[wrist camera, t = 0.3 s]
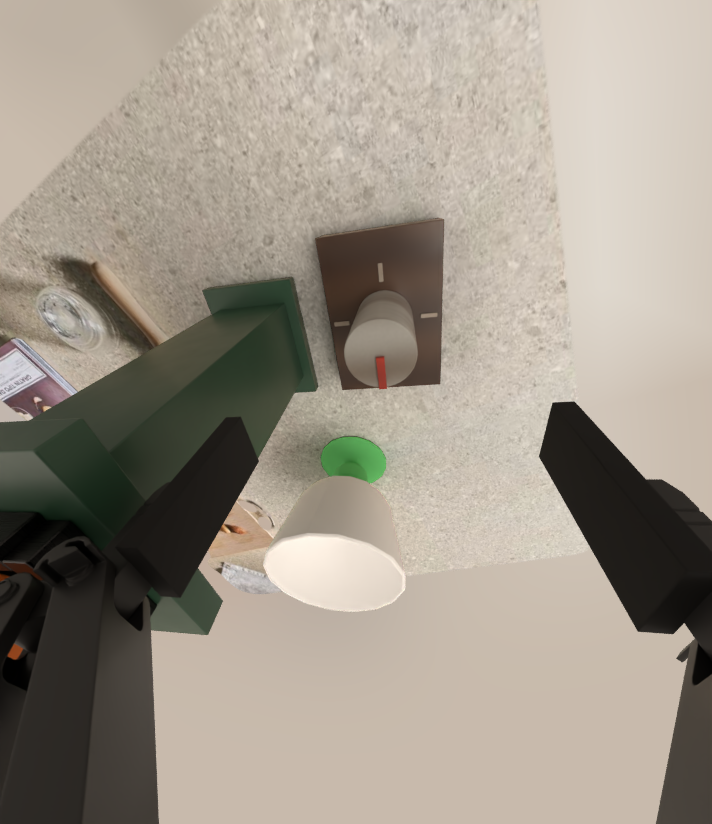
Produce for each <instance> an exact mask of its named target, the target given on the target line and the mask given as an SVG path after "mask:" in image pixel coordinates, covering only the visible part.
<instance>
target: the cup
mask: <svg viewBox="0 0 712 824" xmlns="http://www.w3.org/2000/svg"><path fill="white" fill-rule="evenodd" d="M321 462H322V467H323V468H324V470H325V471H326V472H327V474H328V475H329V476H331V477H328V478H324V479H321V480H318V481H317V482H315V483H313V484H312V485H311V486H310V487H309V488H307V489H306V490H305V491H304V492H303V493H302V494H301V496H300V498H299V499H298V501H297V502H296V504H295V506H294V507H293V509H292V510H291V512H290V514H289V515H288V517H287V518H286V520H285V521H284V523H283V525H282V526H281V528H280V529H279V531H278V533H277V534H276V536H275V537H274V539H273V541H272V542H271V544H270V545H269V547H268V549H267V550H266V554H265V558H264V562H263V566H264V568H265V570H266V573H267V575H268V577H269V579H270V581H271V582H272V583H274V584H275V585H276V586H277V587H278V588H279V589H281V590H282V591H283V592H284V593H285V594H287V595H290V596H292V597H294V598H296V599H298V600H300V601H302V602H304V603H306V604H310V605H314V606H317V607H321V608H325V609H328V610H339V611H350V612H356V611H365V610H374V609H378V608H380V607H383V606H385V605H388V604H390V603H393V602H394V601H395V600H396V599H397V598H398V597H399V596H400V595H401V593H402V592H403V591H404V590H405V570H404V565H403V561H402V556H401V552H400V547H399V543H398V538H397V534H396V529H395V525H394V520H393V516H392V511H391V507H390V505H389V504H388V502H387V501H386V499H385V497H384V496H383V494H382V493H381V492H380V491H379V490H378V489H377V488H375V487H374V486H372V485H371V484H370V483H373V482H374V481H376V480H377V479H379V478H380V477H381V476H382V475H383V473H384V471H385V469H386V458H385V456H384V454H383V453H382V451H381V449H380V448H379V447H377V446H376V445H375V444H373V443H372V442H371V441H369V440H365V439H362V438H359V437H341V438H338V439H335V440H332V441H331V442H330V443H329V444H328V445H327V446H325V447H324V449H323V452H322V455H321Z"/></svg>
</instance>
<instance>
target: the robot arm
mask: <svg viewBox="0 0 712 824" xmlns="http://www.w3.org/2000/svg"><path fill="white" fill-rule="evenodd" d="M539 457H540V459H541V461H542V463H543V464H544V466H545V468H546V470H547V471H548V473H549V475H550V477H551V479H552V480H553V482H554V484H555V486H556V487H557V489H558V491H559V493H560V494H561V496H562V498H563V500H564V502H565V503H566V505H567V507H568V509H569V510H570V512H571V514H572V516H573V517H574V519H575V521H576V523H577V525H578V526H579V528H580V530H581V532H582V533H583V535H584V537H585V539H586V541H587V542H588V544H589V546H590V548H591V549H592V551H593V553H594V555H595V556H596V558H597V560H598V562H599V563H600V565H601V567H602V569H603V570H604V572H605V574H606V576H607V578H608V579H609V581H610V583H611V585H612V586H613V588H614V590H615V592H616V593H617V595H618V597H619V599H620V601H621V602H622V604H623V606H624V608H625V610H626V611H627V613H628V615H629V617H630V618H631V620H632V622H633V624H634V625H635V627H636V629H637V631H638V632H652V633H664V634H674V633H675V632H676V631H677V630H678V629H679V627H681V626H682V625H683V623H685V624H686V626H687V627H688V629H689V630H690V632H691V633H692V634H693V636H694V637H695V639H694V640H693V641H692V642H691V643H690V644H689V645H688V646H687V647H686V648H685V649H683V650H682V651H681V652H680V654H679V655H678V657H677V659H678V660H680V661H681V662H683V661H685V660H686V659H687V658H688V660H687V665H686V670H685V675H684V681H683V686H682V691H681V697H680V702H679V707H678V712H677V717H676V722H675V728H674V733H673V738H672V743H671V748H670V753H669V759H668V764H667V769H666V775H665V780H664V785H663V790H662V795H661V800H660V806H659V811H658V816H657V821H656V824H712V521H711V520H710V519H709V518H708V517H707V516H706V515H705V514H704V513H703V512H700V511H699V508H698V507H697V506H696V505H695V504H694V503H693V502H692V501H691V500H690V499H689V498H688V497H687V496H686V495H685V494H684V493H683V492H681V491H679V490H678V489H676V488H675V487H673V486H671V485H670V484H668V483H667V482H665V481H663V480H646V479H645V478H644V477H643V476H642V475H641V474H640V472H638V471H637V469H636V468H635V467H634V466H633V465H632V464H631V463H630V462H629V460H628V459H627V458H626V457H625V456H624V455H623V454H622V453H621V452H620V451H619V450H618V449H617V447H616V446H615V445H614V444H613V443H612V442H611V441H610V440H609V439H608V438H607V436H606V435H605V434H604V433H603V432H602V431H601V430H600V429H599V428H598V427H597V426H596V425H595V423H594V422H593V421H592V420H591V419H590V418H589V417H588V416H587V415H586V414H585V412H584V411H583V410H582V409H581V408H580V407H579V406H578V405H577V404H576V403H575V402H555V403H552V407H551V411H550V415H549V419H548V423H547V427H546V431H545V435H544V439H543V443H542V447H541V451H540V455H539ZM258 462H259V460H258V457H257V455H256V453H255V450H254V448H253V445H252V443H251V440H250V438H249V435H248V433H247V430H246V428H245V425H244V423H243V421H242V418H241V417H226V418H225V419H224V420H223V421H222V422H221V424H220V425H219V426H218V427H217V428H216V429H215V431H214V432H213V433H212V434H211V435H210V436H209V438H208V439H207V440H206V441H205V442H204V443H203V445H202V446H201V447H200V448H199V449H198V450H197V452H196V453H195V454H194V455H193V456H192V457H191V459H190V460H189V461H188V462H187V463H186V464H185V466H184V467H183V468H182V469H181V470H180V471H179V473H178V474H177V475H176V476H175V477H174V478H173V480H172V481H171V482H167V483H165V484H164V485H163V486H161V487H160V488H159V489H157V490H156V491H155V492H154V493H153V494H152V495H151V496H150V497H149V498H148V499H147V501H146V502H145V503H144V506H141V507H140V508H139V510H138V511H137V512H136V515H133V516H132V517H131V519H130V520H129V521H128V522H127V523H126V524H125V525H124V527H123V528H122V529H121V530H120V531H119V532H118V533H117V534H116V536H115V537H114V538H113V539H112V540H111V541H110V542H109V543H108V545H107V546H106V547H105V548H104V549H103V550H102V551H101V550H100V549H99V548H98V547H97V546H96V545H95V544H94V543H93V542H92V541H91V540H90V539H89V538H87V537H85V536H80V537H74V538H72V539H69V540H66V541H64V542H62V543H61V544H59V545H57V546H55V547H54V548H53V549H51V550H50V551H49V552H48V553H46V554H45V555H44V556H43V557H42V558H41V559H40V560H39V562H38V563H37V564H36V566H35V568H34V570H33V572H34V573H36V574H37V575H38V576H39V577H41V578H42V579H43V580H38V579H37V578H36V577H34V576H33V575H32V574H31V573H27V572H22V573H18V574H15V575H12V576H10V577H8V578H6V579H4V580H2V581H0V824H159V818H158V794H157V769H156V745H155V720H154V696H153V671H152V648H151V623H150V603H149V600H148V598H147V597H146V595H147V593H148V592H149V590H150V589H151V587H152V588H153V589H154V590H155V591H156V592H157V593H158V594H159V595H160V596H163V597H176V598H181V596H182V595H183V593H184V591H185V589H186V588H187V586H188V584H189V582H190V581H191V579H192V577H193V575H194V574H195V572H196V570H197V568H198V567H199V565H200V563H201V561H202V560H203V558H204V556H205V554H206V553H207V551H208V549H209V547H210V546H211V544H212V542H213V540H214V539H215V537H216V535H217V533H218V532H219V530H220V528H221V526H222V525H223V523H224V521H225V519H226V518H227V516H228V514H229V512H230V511H231V509H232V507H233V505H234V504H235V502H236V500H237V499H238V497H239V495H240V493H241V492H242V490H243V488H244V486H245V485H246V483H247V481H248V479H249V478H250V476H251V474H252V472H253V471H254V469H255V467H256V465H257V464H258ZM14 644H16V645H18V646H19V647H21V648H23V650H22V652H21V654H20V655H19V657H18V658H17V659H16V660H15V659H12V658H10V657H8V654H9V652H10V650H11V648H12V647H13V645H14Z"/></svg>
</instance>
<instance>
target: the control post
mask: <svg viewBox="0 0 712 824" xmlns="http://www.w3.org/2000/svg"><path fill="white" fill-rule="evenodd" d="M203 294H204V296H205V299H206V301H207V304H208V306H209V309H210V311H211V314H212V315H210V316H209V317H207V318H205V319H203V320H202V321H200V322H198V323H197V324H195V325H193V326H191V327H190V328H188V329H186V330H184V331H183V332H181V333H179V334H178V335H176V336H174V337H172V338H171V339H169V340H167V341H165V342H164V343H162V344H160V345H159V346H157V347H155V348H153V349H152V350H150V351H148V352H147V353H145V354H143V355H141V356H140V357H138V358H136V359H134V360H133V361H131V362H129V363H128V364H126V365H124V366H122V367H121V368H119V369H117V370H115V371H114V372H112V373H110V374H109V375H107V376H105V377H103V378H102V379H100V380H98V381H97V382H95V383H93V384H91V385H90V386H88V387H86V388H84V389H83V390H81V391H79V392H78V393H76V394H74V395H72V396H71V397H69V398H67V399H65V400H64V401H62V402H60V403H59V404H57V405H55V406H53V407H52V408H50V409H48V410H46V411H45V412H43V413H41V414H40V415H38V416H36V417H34V418H33V419H31V420H29V421H17V422H0V573H1V574H5V575H8V576H12V575H15V574H18V573H22V572H27V573H31V574H32V575H33V576H34V577H36V578H37V579H38V580H43V579H42V578H41V577H39V576H38V575H37V574H36V573H34V572H33V570H34V568H35V566H36V564H37V563H38V562H39V560H40V559H41V558H42V557H43V556H44V555H45V554H46V553H48V552H49V551H50V550H51V549H53V548H54V547H55V546H57V545H59V544H61V543H62V542H64V541H66V540H69V539H72V538H74V537H80V536H85V537H87V538H89V539H90V540H91V541H92V542H93V543H94V544H95V545H96V546H97V547H98V548H99V549H100V550H101V551H102V550H103V549H104V548H105V547H106V546H107V545H108V543H109V542H110V541H111V540H112V539H113V538H114V537H115V536H116V534H117V533H118V532H119V531H120V530H121V529H122V528H123V527H124V525H125V524H126V523H127V522H128V521H129V520H130V519H131V517H132V516H133V515H136V512H137V511H138V510H139V508H140V507H141V506H144V503H145V502H146V501H147V499H148V498H149V497H150V496H151V495H152V494H153V493H154V492H155V491H156V490H157V489H159V488H160V487H161V486H163V485H164V484H165V483H167V482H171V481H172V480H173V478H174V477H175V476H176V475H177V474H178V473H179V471H180V470H181V469H182V468H183V467H184V466H185V464H186V463H187V462H188V461H189V460H190V459H191V457H192V456H193V455H194V454H195V453H196V452H197V450H198V449H199V448H200V447H201V446H202V445H203V443H204V442H205V441H206V440H207V439H208V438H209V436H210V435H211V434H212V433H213V432H214V431H215V429H216V428H217V427H218V426H219V425H220V424H221V422H222V421H223V420H224V419H225V418H226V417H241V418H242V421H243V423H244V425H245V428H246V430H247V433H248V435H249V438H250V440H251V443H252V445H253V448H254V450H255V453H256V455H257V457H259V456H260V454H261V452H262V450H263V448H264V447H265V445H266V443H267V441H268V439H269V438H270V436H271V434H272V432H273V430H274V429H275V427H276V425H277V423H278V421H279V420H280V418H281V416H282V414H283V412H284V411H285V409H286V407H287V405H288V403H289V402H290V400H291V398H292V396H293V394H294V393H298V392H314V391H316V390H317V388H318V384H317V379H316V375H315V371H314V366H313V362H312V358H311V353H310V349H309V344H308V340H307V336H306V331H305V327H304V323H303V318H302V314H301V310H300V305H299V301H298V297H297V292H296V288H295V284H294V279H293V277H288V278H281V279H273V280H265V281H257V282H249V283H242V284H234V285H226V286H218V287H210V288H207V289H204V290H203ZM146 597H147V598H148V600H149V603H150V623H151V630H154V631H166V632H178V633H190V634H201V635H208V634H209V631H210V629H211V627H212V625H213V622H214V620H215V618H216V616H217V613H218V611H219V609H220V607H221V604H222V602H223V600H222V599H221V598H220V597H219V595H218V594H217V593H216V591H215V590H214V589H213V587H212V586H211V585H210V584H209V582H208V581H207V580H206V578H205V577H204V576H203V574H202V573H201V572H200V571H199V569H198V568H197V570H196V572H195V574H194V575H193V577H192V579H191V581H190V582H189V584H188V586H187V588H186V589H185V591H184V593H183V595H182V596H181V598H176V597H163V596H160V595H159V594H158V593H157V592H156V591H155V590H154V589H153V588H152V587H151V589H150V590H149V592H148V593H147V595H146Z"/></svg>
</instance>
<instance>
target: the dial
mask: <svg viewBox="0 0 712 824" xmlns="http://www.w3.org/2000/svg"><path fill="white" fill-rule="evenodd" d="M417 356H418V350H417V342H416V335H415V328H414V320H413V313H412V309H411V307H410V305H409V303H408V302H407V300H406V299H405V298H404V297H403V296H401V295H400V294H398V293H396V292H393V291H388V290H382V291H377V292H374V293H372V294H371V295H369V296H368V297H366V298H365V299H364V301H363V302H362V303H361V305H360V307H359V309H358V312H357V314H356V317H355V319H354V322H353V325H352V327H351V330H350V332H349V335H348V338H347V340H346V343H345V347H344V358H345V362H346V365H347V367H348V369H349V371H350V372H351V373H352V375H353V376H354V377H355V378H357V379H358V380H359V381H361V382H362V383H364V384H367V385H369V386H374V387H379V389H387V387H388V386H392V385H395V384H397V383H399V382H401V381H403V380H404V379H405V378H406V377H408V375H409V374H410V373H411V372H412V370H413V369H414V367H415V364H416V361H417Z"/></svg>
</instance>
